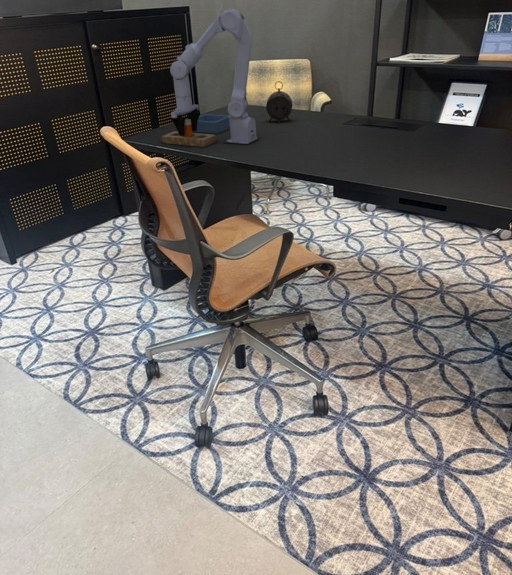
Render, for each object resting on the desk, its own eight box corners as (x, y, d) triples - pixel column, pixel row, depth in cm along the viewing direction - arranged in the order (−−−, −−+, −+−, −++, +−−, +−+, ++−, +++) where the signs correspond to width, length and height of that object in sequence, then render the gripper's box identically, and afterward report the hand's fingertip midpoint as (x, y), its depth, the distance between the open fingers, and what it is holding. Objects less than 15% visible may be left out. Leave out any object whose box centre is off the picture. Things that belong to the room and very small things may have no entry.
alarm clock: (292, 119, 217) (291, 79, 208) (292, 122, 212) (291, 81, 204) (267, 120, 218) (265, 80, 210) (266, 123, 213) (264, 83, 205)
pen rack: (216, 141, 193) (215, 134, 191) (204, 147, 187) (203, 140, 186) (175, 137, 202) (174, 131, 201) (162, 142, 196) (161, 136, 195)
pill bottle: (195, 141, 195) (192, 119, 191) (190, 143, 192) (187, 121, 188) (188, 140, 196) (185, 118, 192) (183, 143, 194) (180, 120, 190)
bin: (232, 127, 212) (231, 115, 209) (216, 133, 203) (215, 122, 201) (205, 125, 218) (204, 114, 216) (189, 131, 209) (188, 120, 207)
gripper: (186, 92, 193) (191, 128, 200) (162, 99, 182) (168, 137, 189) (201, 92, 190) (205, 129, 197) (177, 100, 179) (182, 138, 186)
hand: (188, 133), depth 193 cm, fingers open, 7 cm apart
